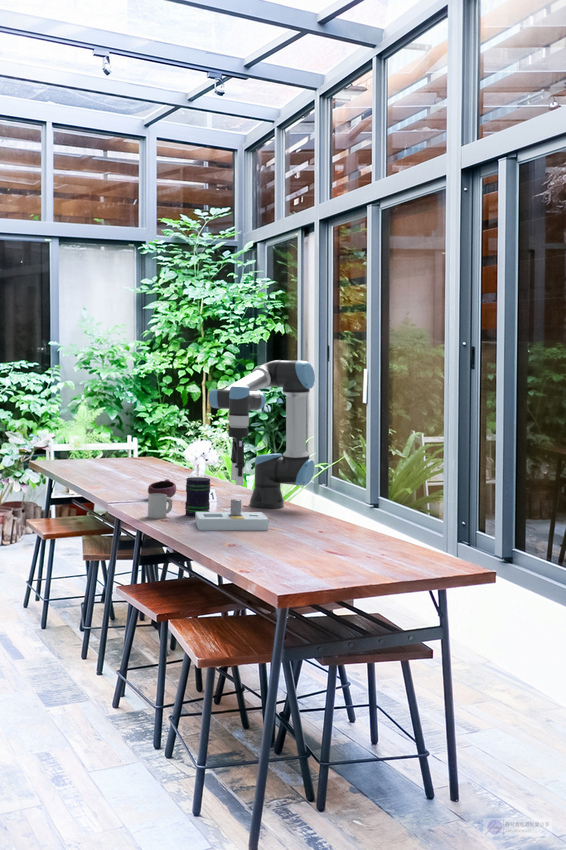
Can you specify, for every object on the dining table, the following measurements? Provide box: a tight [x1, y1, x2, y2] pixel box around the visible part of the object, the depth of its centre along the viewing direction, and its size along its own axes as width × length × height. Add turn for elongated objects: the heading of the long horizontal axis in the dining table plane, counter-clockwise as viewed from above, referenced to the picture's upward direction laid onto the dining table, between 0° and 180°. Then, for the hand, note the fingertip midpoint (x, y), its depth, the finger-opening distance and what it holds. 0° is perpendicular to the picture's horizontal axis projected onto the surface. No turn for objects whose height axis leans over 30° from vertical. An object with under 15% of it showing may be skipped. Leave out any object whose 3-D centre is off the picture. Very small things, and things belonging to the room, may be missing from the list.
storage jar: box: [184, 476, 211, 518], centre depth 329 cm, size 10×10×15 cm
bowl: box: [147, 478, 177, 499], centre depth 369 cm, size 16×13×8 cm
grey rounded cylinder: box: [229, 498, 242, 516], centre depth 309 cm, size 4×4×10 cm
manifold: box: [194, 511, 270, 531], centre depth 308 cm, size 16×26×4 cm, turn 101°
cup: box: [147, 493, 173, 520], centre depth 322 cm, size 7×10×9 cm
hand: (236, 482), depth 308 cm, fingers open, 13 cm apart
